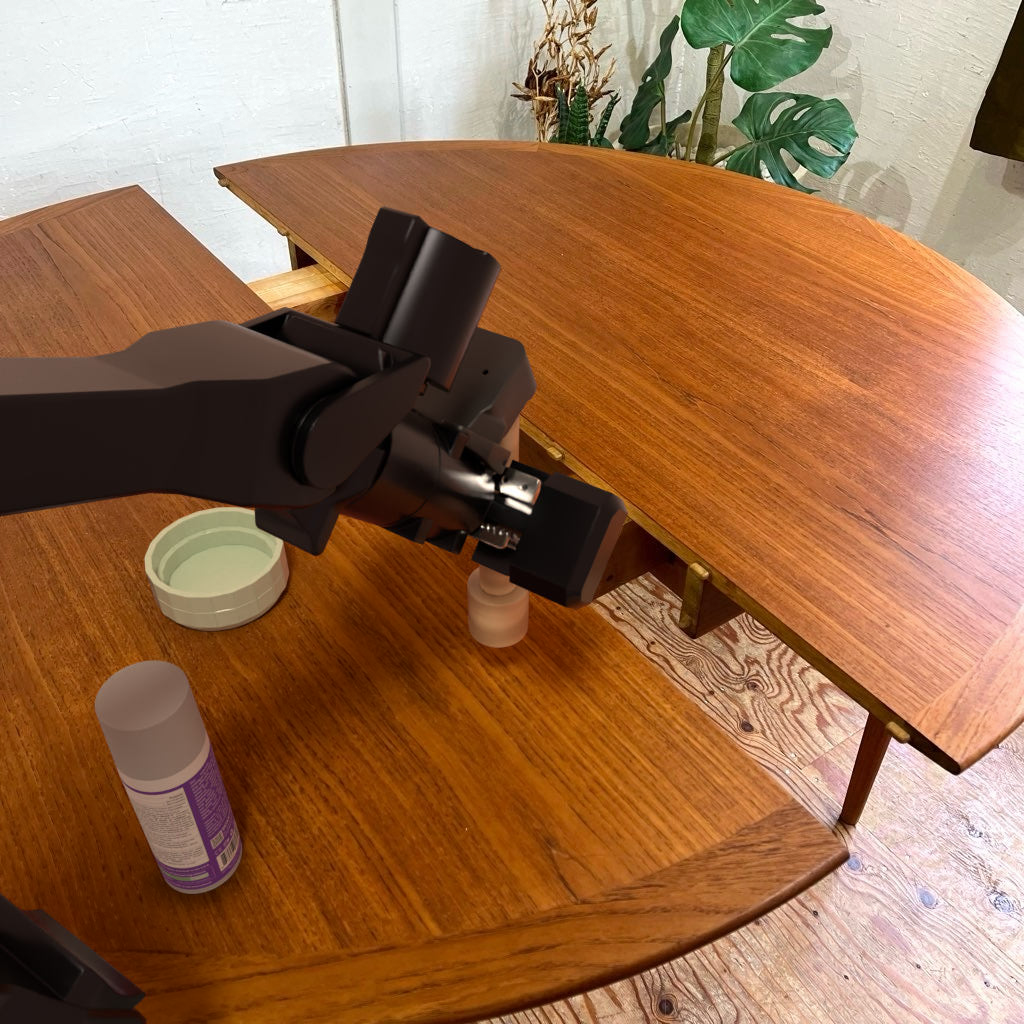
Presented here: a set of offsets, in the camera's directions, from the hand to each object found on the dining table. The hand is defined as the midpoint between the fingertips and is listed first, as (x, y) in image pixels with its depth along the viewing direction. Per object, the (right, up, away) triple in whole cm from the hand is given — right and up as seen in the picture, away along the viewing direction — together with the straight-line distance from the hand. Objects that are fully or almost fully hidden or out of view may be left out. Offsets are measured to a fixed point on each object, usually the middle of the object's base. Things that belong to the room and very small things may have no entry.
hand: (510, 517), depth 60 cm
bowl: (-22, -6, +14) cm, 27 cm away
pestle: (-1, -7, +5) cm, 9 cm away
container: (-18, -20, -3) cm, 27 cm away
